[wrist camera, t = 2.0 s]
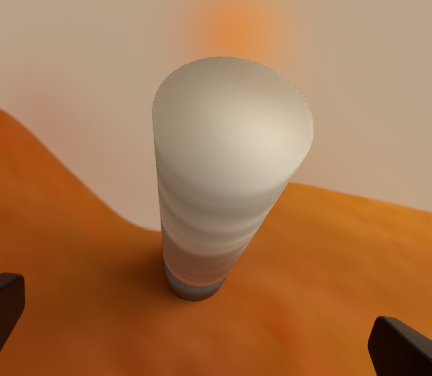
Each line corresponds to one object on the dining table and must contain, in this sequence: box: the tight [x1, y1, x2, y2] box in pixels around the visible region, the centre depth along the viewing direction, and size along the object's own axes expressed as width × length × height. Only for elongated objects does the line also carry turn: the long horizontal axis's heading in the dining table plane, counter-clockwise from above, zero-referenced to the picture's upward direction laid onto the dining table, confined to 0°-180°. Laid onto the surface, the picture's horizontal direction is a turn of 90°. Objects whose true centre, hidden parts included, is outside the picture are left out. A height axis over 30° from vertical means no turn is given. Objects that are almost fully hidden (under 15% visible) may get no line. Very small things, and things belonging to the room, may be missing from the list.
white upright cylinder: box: [152, 57, 314, 301], centre depth 13 cm, size 4×4×14 cm
